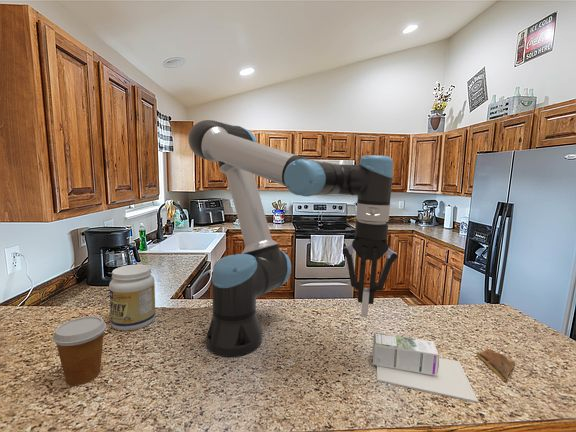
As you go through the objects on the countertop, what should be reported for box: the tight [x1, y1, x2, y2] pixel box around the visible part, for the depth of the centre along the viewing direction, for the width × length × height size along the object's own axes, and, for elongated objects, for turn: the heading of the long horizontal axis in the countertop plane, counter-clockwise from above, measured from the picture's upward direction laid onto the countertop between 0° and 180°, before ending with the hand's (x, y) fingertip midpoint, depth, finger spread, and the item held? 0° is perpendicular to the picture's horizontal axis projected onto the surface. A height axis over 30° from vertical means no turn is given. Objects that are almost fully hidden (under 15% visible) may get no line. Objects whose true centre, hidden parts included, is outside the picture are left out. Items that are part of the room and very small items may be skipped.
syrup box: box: [372, 332, 440, 376], centre depth 70 cm, size 6×6×14 cm
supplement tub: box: [108, 264, 156, 332], centre depth 87 cm, size 12×12×17 cm
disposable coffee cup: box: [52, 315, 107, 386], centre depth 63 cm, size 10×10×12 cm
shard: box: [476, 348, 516, 382], centre depth 72 cm, size 11×8×2 cm
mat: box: [376, 357, 479, 404], centre depth 69 cm, size 20×14×1 cm
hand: (364, 314), depth 71 cm, fingers closed
